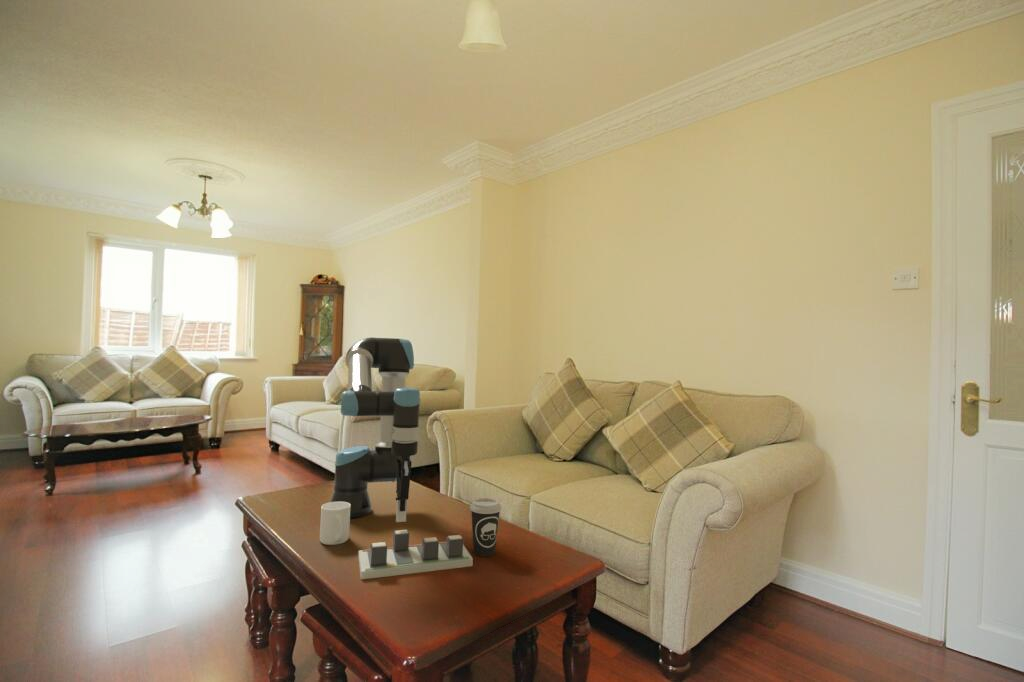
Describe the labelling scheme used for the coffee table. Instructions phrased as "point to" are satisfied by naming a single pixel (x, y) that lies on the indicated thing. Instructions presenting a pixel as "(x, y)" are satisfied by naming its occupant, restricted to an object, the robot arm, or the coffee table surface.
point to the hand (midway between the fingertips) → (400, 520)
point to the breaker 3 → (430, 548)
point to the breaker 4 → (454, 545)
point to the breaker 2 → (401, 540)
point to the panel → (411, 562)
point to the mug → (335, 523)
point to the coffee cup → (485, 525)
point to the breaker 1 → (378, 553)
